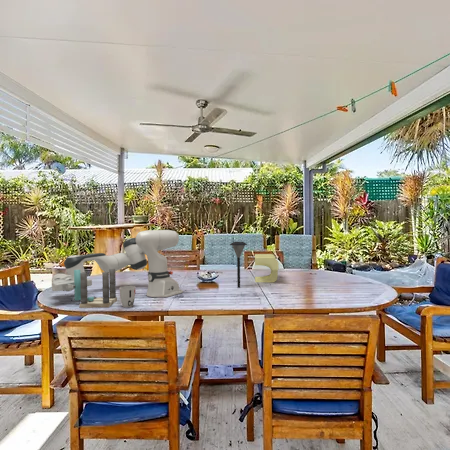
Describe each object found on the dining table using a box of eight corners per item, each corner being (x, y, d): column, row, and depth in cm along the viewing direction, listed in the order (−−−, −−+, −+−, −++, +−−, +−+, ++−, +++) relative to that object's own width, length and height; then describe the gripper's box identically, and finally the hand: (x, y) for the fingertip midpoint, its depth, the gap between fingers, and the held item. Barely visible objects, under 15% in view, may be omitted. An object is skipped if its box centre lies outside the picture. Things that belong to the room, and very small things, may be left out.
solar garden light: (245, 289, 221) (244, 242, 220) (227, 288, 225) (226, 242, 224) (250, 286, 232) (249, 241, 232) (232, 285, 236) (232, 241, 236)
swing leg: (95, 299, 187) (94, 270, 186) (91, 301, 184) (90, 270, 183) (77, 298, 189) (76, 269, 189) (73, 300, 186) (72, 270, 186)
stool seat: (89, 300, 196) (88, 268, 195) (117, 300, 196) (116, 268, 195) (78, 307, 180) (77, 273, 180) (108, 307, 180) (107, 272, 180)
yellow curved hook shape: (278, 284, 237) (278, 258, 237) (255, 284, 238) (254, 258, 238) (275, 277, 267) (275, 254, 267) (255, 277, 268) (254, 254, 268)
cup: (129, 308, 177) (129, 289, 177) (116, 307, 180) (116, 288, 180) (138, 305, 184) (138, 286, 184) (126, 303, 187) (126, 285, 187)
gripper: (86, 285, 204) (97, 289, 194) (49, 291, 189) (59, 295, 179) (85, 275, 204) (96, 277, 194) (48, 279, 189) (58, 282, 179)
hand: (78, 286), depth 187 cm, fingers closed on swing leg, 3 cm apart
